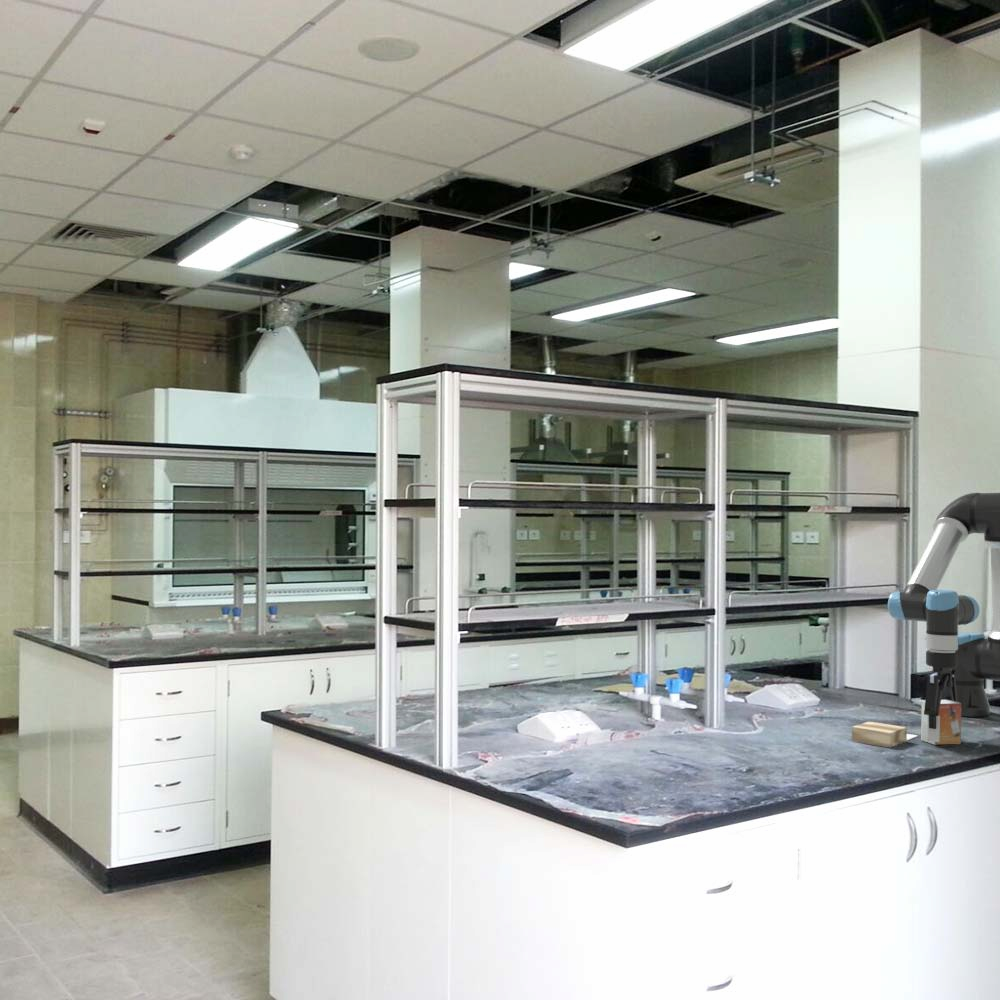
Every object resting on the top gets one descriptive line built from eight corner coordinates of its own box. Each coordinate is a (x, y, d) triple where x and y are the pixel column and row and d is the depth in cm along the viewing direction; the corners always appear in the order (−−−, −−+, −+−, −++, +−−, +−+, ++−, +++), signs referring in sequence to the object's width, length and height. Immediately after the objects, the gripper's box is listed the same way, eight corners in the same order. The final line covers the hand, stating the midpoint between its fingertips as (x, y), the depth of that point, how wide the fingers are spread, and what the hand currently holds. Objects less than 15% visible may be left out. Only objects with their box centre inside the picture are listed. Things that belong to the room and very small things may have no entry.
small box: (934, 745, 265) (935, 704, 265) (920, 740, 270) (920, 699, 270) (961, 744, 267) (962, 702, 267) (946, 739, 272) (947, 698, 272)
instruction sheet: (880, 730, 282) (880, 729, 282) (917, 736, 275) (917, 735, 275) (869, 734, 277) (869, 733, 277) (907, 740, 270) (907, 739, 270)
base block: (869, 736, 276) (869, 721, 276) (906, 742, 269) (906, 727, 269) (851, 742, 269) (851, 726, 269) (889, 749, 262) (889, 733, 262)
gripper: (942, 645, 279) (941, 729, 279) (910, 653, 263) (909, 742, 263) (971, 647, 274) (971, 733, 274) (941, 656, 258) (940, 747, 258)
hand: (941, 737), depth 268 cm, fingers closed on small box, 9 cm apart
